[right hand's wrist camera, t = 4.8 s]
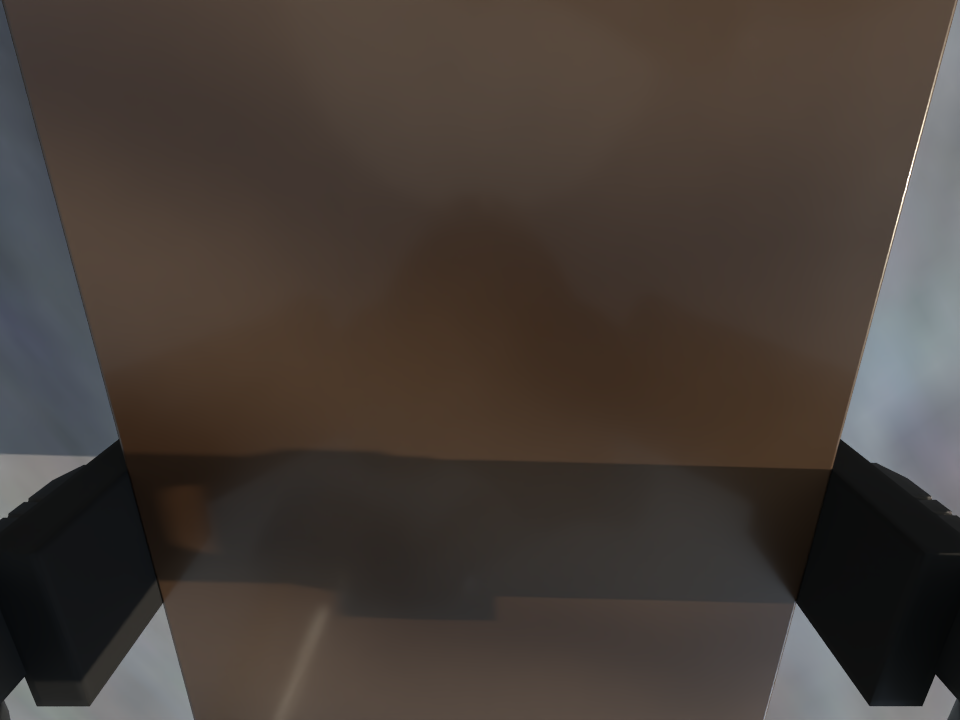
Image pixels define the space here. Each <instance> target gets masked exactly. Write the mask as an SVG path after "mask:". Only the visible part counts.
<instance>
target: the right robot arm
mask: <svg viewBox="0 0 960 720" xmlns="http://www.w3.org/2000/svg"><path fill="white" fill-rule="evenodd" d="M8 515H9V516H8V518H2V519H1V520H0V720H10V715H9V710H8V708H7V706H6V704H5V701H4V699H5V698H6V697H7V696H8V695H9V694H10V693H11V691H12V690H13V689H14V688H15V687H16V686H17V685H18V683H19V682H20V681H21V680H22V679H23V678H24V677H25V679H26V681H27V684H28V686H29V688H30V691H31V693H32V696H33V698H34V700H35V703H36V705H37V706H90V705H91V704H92V702H93V701H94V699H95V698H96V697H97V695H98V694H99V692H100V691H101V689H102V688H103V687H104V685H105V684H106V682H107V681H108V680H109V678H110V677H111V675H112V674H113V673H114V671H115V670H116V668H117V667H118V666H119V664H120V663H121V661H122V660H123V658H124V657H125V656H126V654H127V653H128V651H129V650H130V649H131V647H132V646H133V644H134V643H135V642H136V640H137V639H138V637H139V636H140V634H141V633H142V632H143V630H144V629H145V627H146V626H147V625H148V623H149V622H150V620H151V619H152V618H153V616H154V615H155V613H156V612H157V610H158V609H159V608H160V606H161V605H162V603H163V601H162V597H161V593H160V590H159V586H158V582H157V578H156V575H155V571H154V567H153V564H152V560H151V556H150V552H149V549H148V545H147V541H146V537H145V534H144V530H143V526H142V522H141V519H140V515H139V511H138V507H137V504H136V500H135V496H134V493H133V489H132V485H131V481H130V478H129V474H128V470H127V466H126V463H125V459H124V455H123V451H122V448H121V444H120V440H119V439H118V440H117V441H116V442H115V443H113V444H112V445H111V446H110V447H108V448H107V449H106V450H104V451H103V452H102V453H101V454H99V455H98V456H97V457H96V458H94V459H93V460H92V461H90V462H89V463H88V464H87V465H83V466H81V467H79V468H77V469H75V470H72V471H70V472H68V473H66V474H64V475H62V476H60V477H58V478H56V479H54V480H52V481H51V482H50V483H48V484H47V485H46V486H44V487H43V488H42V489H40V490H39V491H38V492H36V493H35V494H34V495H33V496H31V497H30V498H29V501H28V502H23V503H22V504H21V505H19V506H18V507H17V508H15V509H14V510H13V511H11V512H10V513H9V514H8ZM796 603H797V604H798V606H799V607H800V608H801V610H802V611H803V613H804V614H805V616H806V617H807V618H808V620H809V621H810V623H811V624H812V625H813V627H814V628H815V630H816V631H817V632H818V634H819V635H820V637H821V638H822V640H823V641H824V642H825V644H826V645H827V647H828V648H829V649H830V651H831V652H832V654H833V655H834V656H835V658H836V659H837V661H838V662H839V664H840V665H841V666H842V668H843V669H844V671H845V672H846V673H847V675H848V676H849V678H850V679H851V680H852V682H853V683H854V685H855V686H856V688H857V689H858V690H859V692H860V693H861V695H862V696H863V697H864V699H865V700H866V702H867V703H868V704H869V706H923V703H924V701H925V698H926V696H927V694H928V691H929V689H930V686H931V684H932V681H933V679H934V677H935V674H936V675H937V677H938V678H939V679H940V680H941V681H942V682H943V683H944V684H945V686H946V687H947V688H948V689H949V690H950V691H951V692H952V694H953V695H954V696H955V697H956V698H957V699H956V701H955V704H954V706H953V708H952V710H951V713H950V715H949V717H948V720H960V518H959V517H958V516H957V515H952V513H951V511H950V510H949V509H947V508H946V507H945V506H944V505H942V504H941V503H940V502H938V501H937V500H932V499H931V496H930V495H929V494H928V493H926V492H925V491H924V490H922V489H921V488H920V487H918V486H917V485H916V484H914V483H913V482H912V481H910V480H909V479H908V478H906V477H904V476H902V475H900V474H898V473H896V472H894V471H891V470H889V469H887V468H885V467H883V466H881V465H879V464H877V463H870V462H869V461H868V460H866V459H865V458H864V457H863V456H861V455H860V454H859V453H857V452H856V451H855V450H854V449H852V448H851V447H850V446H849V445H847V444H846V443H845V442H843V441H842V440H841V439H840V441H839V445H838V449H837V452H836V456H835V460H834V464H833V467H832V471H831V475H830V479H829V482H828V486H827V490H826V494H825V497H824V501H823V505H822V508H821V512H820V516H819V520H818V523H817V527H816V531H815V535H814V538H813V542H812V546H811V550H810V553H809V557H808V561H807V564H806V568H805V572H804V576H803V579H802V583H801V587H800V591H799V594H798V598H797V602H796Z"/></svg>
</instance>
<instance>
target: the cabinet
mask: <svg viewBox="0 0 960 720" xmlns="http://www.w3.org/2000/svg"><path fill="white" fill-rule="evenodd" d="M957 1H958V0H2V3H3V7H4V10H5V14H6V18H7V22H8V25H9V29H10V33H11V37H12V40H13V44H14V48H15V51H16V55H17V59H18V63H19V66H20V70H21V74H22V78H23V81H24V85H25V89H26V93H27V96H28V100H29V104H30V108H31V111H32V115H33V119H34V122H35V126H36V130H37V134H38V137H39V141H40V145H41V149H42V152H43V156H44V160H45V164H46V167H47V171H48V175H49V179H50V182H51V186H52V190H53V193H54V197H55V201H56V205H57V208H58V212H59V216H60V220H61V223H62V227H63V231H64V235H65V238H66V242H67V246H68V250H69V253H70V257H71V261H72V265H73V268H74V272H75V276H76V279H77V283H78V287H79V291H80V294H81V298H82V302H83V306H84V309H85V313H86V317H87V321H88V324H89V328H90V332H91V336H92V339H93V343H94V347H95V350H96V354H97V358H98V362H99V365H100V369H101V373H102V377H103V380H104V384H105V388H106V392H107V395H108V399H109V403H110V407H111V410H112V414H113V418H114V422H115V425H116V429H117V433H118V436H119V440H120V444H121V448H122V451H123V455H124V459H125V463H126V466H127V470H128V474H129V478H130V481H131V485H132V489H133V493H134V496H135V500H136V504H137V507H138V511H139V515H140V519H141V522H142V526H143V530H144V534H145V537H146V541H147V545H148V549H149V552H150V556H151V560H152V564H153V567H154V571H155V575H156V578H157V582H158V586H159V590H160V593H161V597H162V601H163V605H164V608H165V612H166V616H167V620H168V623H169V627H170V631H171V635H172V638H173V642H174V646H175V650H176V653H177V657H178V661H179V664H180V668H181V672H182V676H183V679H184V683H185V687H186V691H187V694H188V698H189V702H190V706H191V709H192V713H193V717H194V720H765V717H766V714H767V710H768V706H769V703H770V699H771V695H772V691H773V688H774V684H775V680H776V676H777V673H778V669H779V665H780V661H781V658H782V654H783V650H784V647H785V643H786V639H787V635H788V632H789V628H790V624H791V620H792V617H793V613H794V609H795V605H796V602H797V598H798V594H799V591H800V587H801V583H802V579H803V576H804V572H805V568H806V564H807V561H808V557H809V553H810V550H811V546H812V542H813V538H814V535H815V531H816V527H817V523H818V520H819V516H820V512H821V508H822V505H823V501H824V497H825V494H826V490H827V486H828V482H829V479H830V475H831V471H832V467H833V464H834V460H835V456H836V452H837V449H838V445H839V441H840V438H841V434H842V430H843V426H844V423H845V419H846V415H847V411H848V408H849V404H850V400H851V397H852V393H853V389H854V385H855V382H856V378H857V374H858V370H859V367H860V363H861V359H862V355H863V352H864V348H865V344H866V341H867V337H868V333H869V329H870V326H871V322H872V318H873V314H874V311H875V307H876V303H877V300H878V296H879V292H880V288H881V285H882V281H883V277H884V273H885V270H886V266H887V262H888V258H889V255H890V251H891V247H892V244H893V240H894V236H895V232H896V229H897V225H898V221H899V217H900V214H901V210H902V206H903V202H904V199H905V195H906V191H907V188H908V184H909V180H910V176H911V173H912V169H913V165H914V161H915V158H916V154H917V150H918V147H919V143H920V139H921V135H922V132H923V128H924V124H925V120H926V117H927V113H928V109H929V105H930V102H931V98H932V94H933V91H934V87H935V83H936V79H937V76H938V72H939V68H940V64H941V61H942V57H943V53H944V49H945V46H946V42H947V38H948V35H949V31H950V27H951V23H952V20H953V16H954V12H955V8H956V5H957Z"/></svg>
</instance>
